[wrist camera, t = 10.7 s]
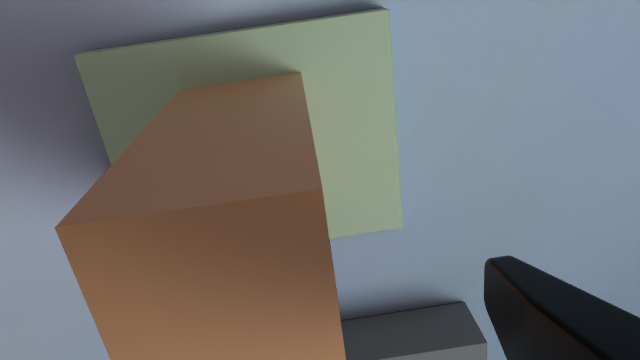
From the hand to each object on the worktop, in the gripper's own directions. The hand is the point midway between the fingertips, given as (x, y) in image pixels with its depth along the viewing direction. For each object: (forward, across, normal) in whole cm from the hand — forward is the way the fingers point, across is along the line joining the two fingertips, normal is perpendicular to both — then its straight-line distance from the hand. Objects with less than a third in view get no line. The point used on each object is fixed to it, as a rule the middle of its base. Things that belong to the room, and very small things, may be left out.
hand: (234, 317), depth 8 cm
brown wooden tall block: (+9, 0, 0) cm, 9 cm away
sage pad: (+10, 0, 0) cm, 10 cm away
